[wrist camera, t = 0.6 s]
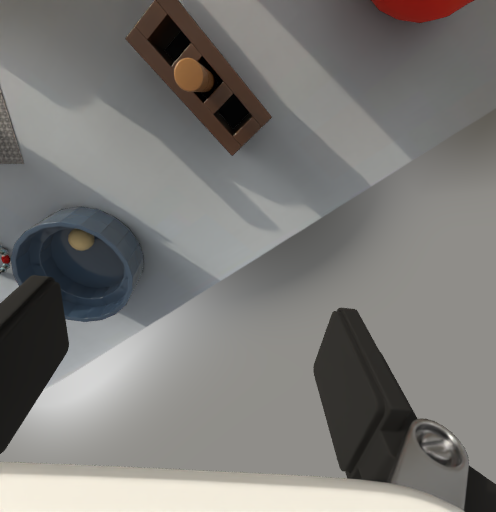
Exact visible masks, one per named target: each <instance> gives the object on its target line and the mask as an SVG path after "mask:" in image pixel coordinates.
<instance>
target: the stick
mask: <svg viewBox="0 0 496 512" xmlns="http://www.w3.org/2000/svg"><path fill="white" fill-rule="evenodd" d="M174 77H175V81H176V83H177V84H178V86H179V87H180V88H181V89H183V90H184V91H187V92H212V91H214V90H215V89H216V88H217V84H218V82H217V78H216V77H215V75H213V74H212V73H211V72H210V71H208V70H207V69H206V68H205V67H203V66H202V65H201V64H200V63H198V62H197V61H196V60H194V59H192V58H184V59H181V60H180V61H179V62H178V63H177V64H176V66H175V70H174Z"/></svg>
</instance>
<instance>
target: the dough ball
mask: <svg viewBox="0 0 496 512" xmlns="http://www.w3.org/2000/svg"><path fill="white" fill-rule="evenodd" d="M68 241H69V244H70V245H71V246H72V247H73V248H74V249H76V250H81V251H83V250H87V249H89V248H90V247H92V245H93V244H94V235H91V234H89V233H87V232H85V231H82V230H80V229H74V230H72V231H71V232H70V234H69V237H68Z"/></svg>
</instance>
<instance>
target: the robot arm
mask: <svg viewBox="0 0 496 512" xmlns="http://www.w3.org/2000/svg"><path fill="white" fill-rule="evenodd" d="M68 347H69V341H68V334H67V327H66V321H65V314H64V308H63V301H62V295H61V288H60V284H59V283H58V282H55V280H54V278H52V277H47V276H37V275H32V276H30V277H29V278H28V279H27V280H26V281H24V282H23V283H22V284H21V285H20V286H19V287H18V288H17V289H16V290H15V291H14V292H12V293H11V294H10V295H9V296H8V297H7V298H6V299H5V300H4V301H3V302H2V303H0V454H1V453H2V452H3V451H4V450H5V449H6V447H7V446H8V444H9V443H10V441H11V440H12V438H13V436H14V435H15V433H16V431H17V430H18V429H19V427H20V425H21V424H22V422H23V421H24V419H25V418H26V416H27V415H28V413H29V411H30V410H31V408H32V407H33V405H34V403H35V402H36V400H37V399H38V397H39V396H40V394H41V393H42V391H43V389H44V388H45V386H46V385H47V383H48V382H49V380H50V378H51V377H52V375H53V374H54V372H55V371H56V369H57V367H58V366H59V364H60V363H61V361H62V360H63V358H64V356H65V355H66V353H67V351H68ZM314 376H315V380H316V383H317V387H318V391H319V394H320V398H321V402H322V405H323V409H324V412H325V416H326V420H327V423H328V427H329V431H330V434H331V438H332V442H333V445H334V449H335V452H336V456H337V460H338V463H339V466H340V469H341V470H342V471H345V472H346V475H347V479H345V478H332V477H318V476H302V475H301V476H300V475H283V474H281V475H280V474H263V473H245V472H226V471H204V470H182V469H163V468H141V467H119V466H96V465H94V466H93V465H72V464H47V463H24V462H23V463H22V462H0V512H496V484H494V483H493V482H492V481H490V480H489V479H487V478H486V477H484V476H483V475H482V474H480V473H479V472H477V471H476V470H474V469H473V468H472V467H470V466H469V459H468V455H467V452H466V450H465V448H464V446H463V445H462V444H461V442H460V441H459V439H458V438H457V437H456V436H455V435H454V434H453V433H452V432H451V431H449V430H448V429H447V428H445V427H444V426H443V425H440V424H439V423H437V422H435V421H431V420H428V419H417V417H416V415H415V413H414V412H413V410H412V408H411V407H410V404H409V403H408V401H407V399H406V397H405V395H404V393H403V392H402V390H401V388H400V386H399V384H398V383H397V381H396V379H395V377H394V375H393V374H392V372H391V370H390V368H389V366H388V364H387V363H386V361H385V359H384V357H383V355H382V354H381V352H380V351H379V350H378V348H377V346H376V344H375V343H374V340H373V339H372V337H371V335H370V333H369V332H368V330H367V328H366V326H365V324H364V322H363V320H362V319H361V317H360V315H359V313H358V311H357V310H355V309H347V308H339V309H338V310H337V311H334V312H333V313H332V315H331V318H330V321H329V324H328V327H327V329H326V332H325V335H324V338H323V341H322V343H321V346H320V349H319V352H318V355H317V357H316V361H315V363H314Z"/></svg>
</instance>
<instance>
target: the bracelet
mask: <svg viewBox="0 0 496 512" xmlns="http://www.w3.org/2000/svg"><path fill="white" fill-rule="evenodd" d="M0 254H2V257H1V258H2V262H3V263H4V264H3V267H1V268H0V273H1V272H6V271H7V268H9V267H10V265H9V262H10V257H9V256H8V254H7V250H6V249H3V248H2V246H1V245H0Z"/></svg>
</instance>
